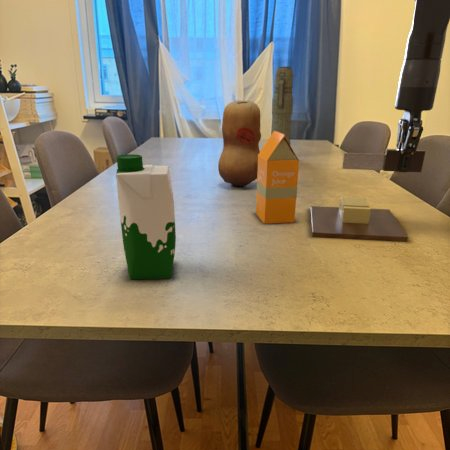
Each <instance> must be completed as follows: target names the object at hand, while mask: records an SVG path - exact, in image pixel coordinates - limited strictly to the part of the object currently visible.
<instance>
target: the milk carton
mask: <svg viewBox="0 0 450 450" xmlns="http://www.w3.org/2000/svg"><path fill="white" fill-rule="evenodd" d="M116 164H117V166H116V167H117V169H116V175H115V179H116V189H117V201H118V209H119V210H118V211H119V218H120V228H121V236H122V245H123V253H124V257H125V261H126V266H127V271H128V276H129V280H152V279H153V280H156V279H171V278H172V273H173V268H174V267H173V266H174V260H175V253H176V243H177V242H176V240H177V236H176V235H177V234H176V215H175V213H176V212H175V200H174V199H175V198H174V190H173V185H172V184H173V183H172V179H171V172H170V166H169V165H154V164H144V162H143V155H141V154H133V153H130V154H119V155H117V156H116Z"/></svg>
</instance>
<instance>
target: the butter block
mask: <svg viewBox="0 0 450 450" xmlns="http://www.w3.org/2000/svg"><path fill="white" fill-rule="evenodd" d="M344 206H348V207H370V205H369V203H368V201H367V199H366V197H357V196H340V197H339V205H338V207H339V213H340V216H341V219H342V215H343V207H344Z"/></svg>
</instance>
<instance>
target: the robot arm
mask: <svg viewBox="0 0 450 450" xmlns="http://www.w3.org/2000/svg"><path fill="white" fill-rule="evenodd" d="M414 2H415V6H414V11H413V12H414V13H413V19H412V25H411V28H410V31H409V33H408V36H407V41H406V46H405V51H404V57H403V63H402V66H401V70H400V74H399V80H398V84H397V92H396V97H395V103H394V109H395V110H398V111H403V114H402V118H400V119H399V121H398V123H397V133H396V136H397V137H396V145H395V147H396V149H401V151H400V153H401V155H400V160H399V166H398V171H399V173H409V172H408V171H409V166H410V161H411V156H412V155H413V153H415V152H416V150H418V146H419V143H420V140H421V138H422V134H423V131H424V126H423V119H422V113H423V112H427V111H432V110H433V108H434V103H435V99H436V94H437V90H438V84H439V79H440V76H441V67H442V58H443V53H444V49H445V45H446V38H447V30H448V26H449V23H450V0H414Z"/></svg>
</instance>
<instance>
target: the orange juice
mask: <svg viewBox="0 0 450 450" xmlns="http://www.w3.org/2000/svg"><path fill="white" fill-rule="evenodd" d="M299 167H300V159H299V158H298V156H297V154H296V153H295V151H294V149H293V147H292V146H291V144H289V142H288V141H287V139H286V137H285V136H284V134H282V133H279V132H277V131H274V132H273V133H272V132H271V135H270V136H269V137H268V139H267V141H266V142H265V144H264V145H263V147H262V148H261V149H260V153H259V154H258V172H257V179H256V202H255V203H256V204H255V205H256V206H255V215H256V216H257V217H258V218H259V219H260V220H261V222H262V223H263V224H265V225H269V224H286V223H288V224H289V223H295V219H296V208H297V207H296V206H297V197H298V196H297V195H298V182H299Z"/></svg>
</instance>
